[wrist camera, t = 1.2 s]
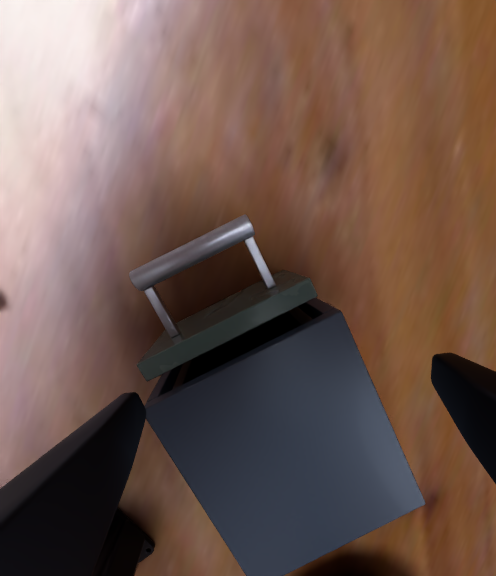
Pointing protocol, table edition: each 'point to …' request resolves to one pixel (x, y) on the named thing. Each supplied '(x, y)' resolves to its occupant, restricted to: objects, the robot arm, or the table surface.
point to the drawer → (220, 308)
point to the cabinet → (287, 446)
